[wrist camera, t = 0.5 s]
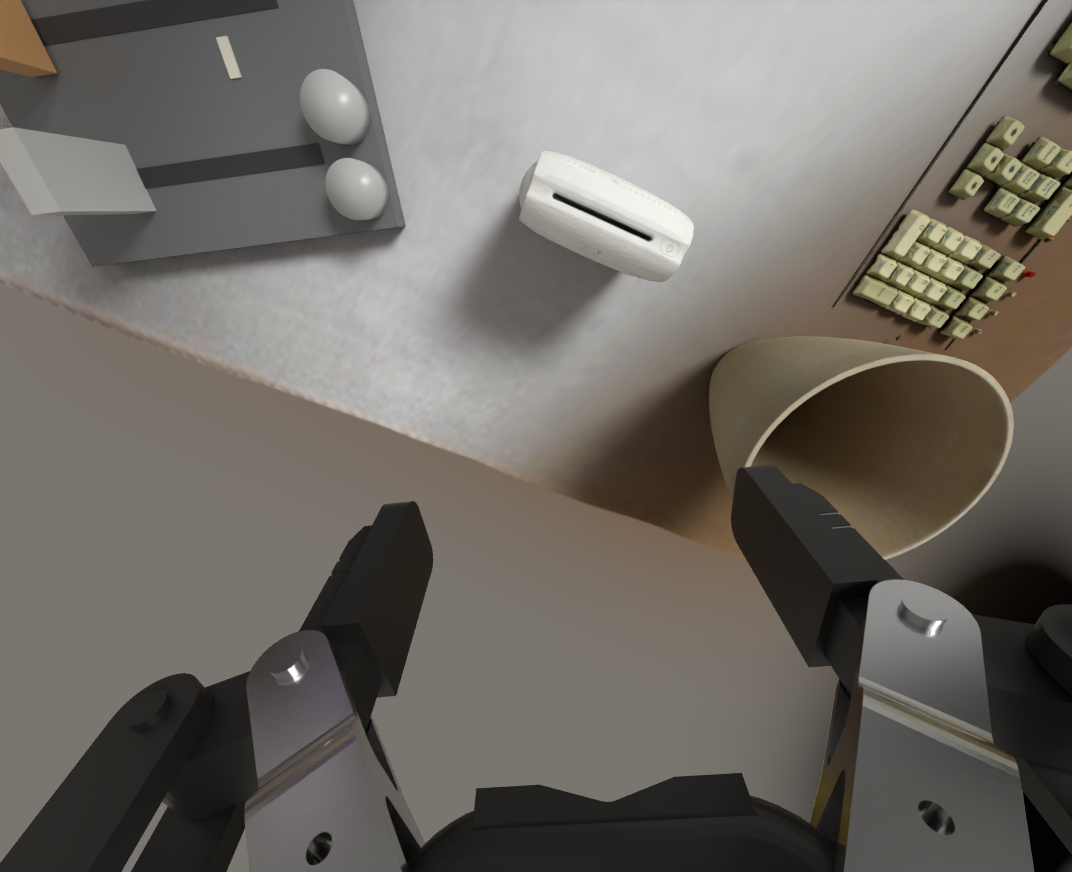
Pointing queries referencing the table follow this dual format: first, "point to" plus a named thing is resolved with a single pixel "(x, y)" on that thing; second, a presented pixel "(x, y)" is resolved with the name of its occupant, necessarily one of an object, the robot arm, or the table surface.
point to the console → (198, 126)
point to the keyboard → (953, 258)
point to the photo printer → (603, 217)
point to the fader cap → (21, 43)
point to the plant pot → (864, 430)
